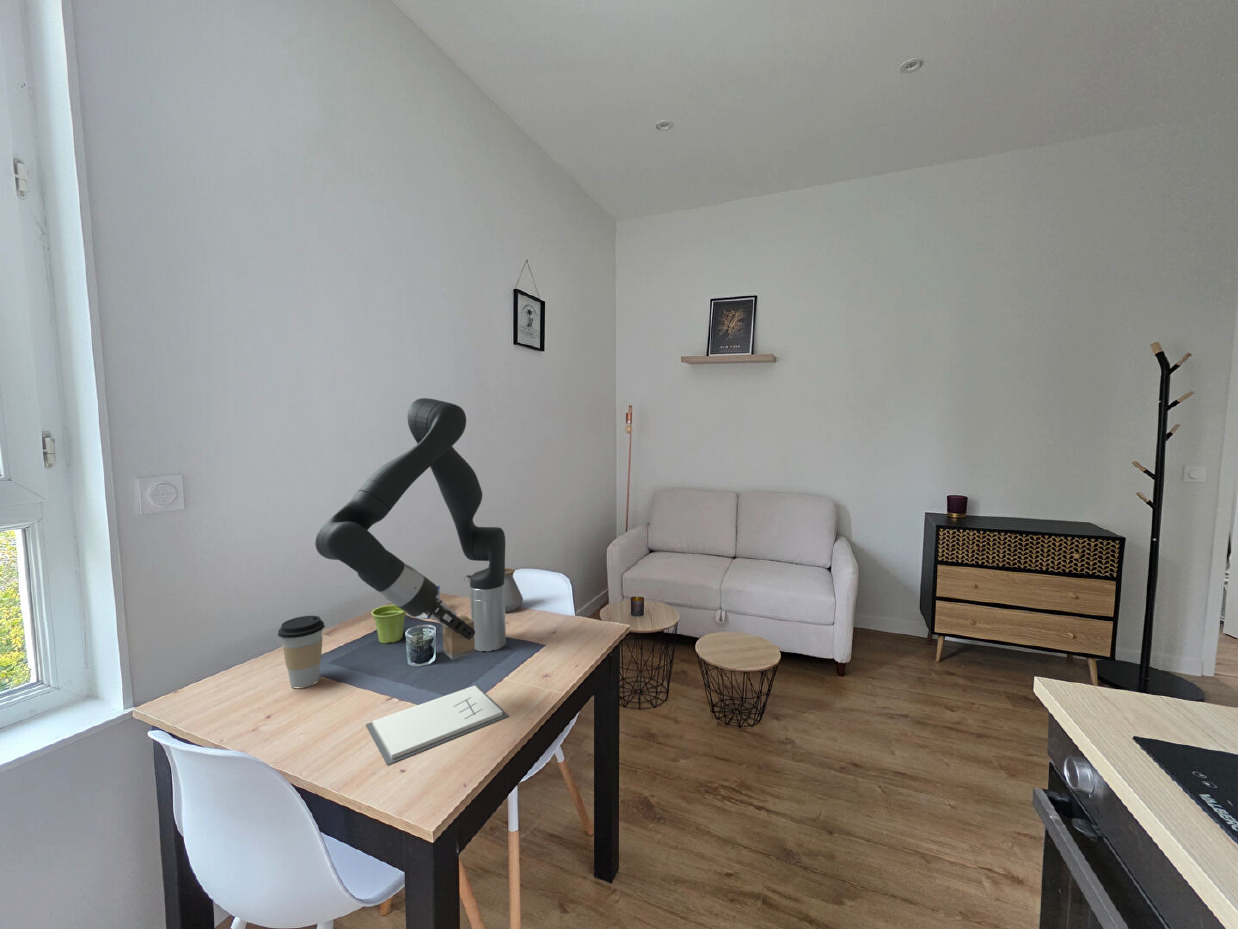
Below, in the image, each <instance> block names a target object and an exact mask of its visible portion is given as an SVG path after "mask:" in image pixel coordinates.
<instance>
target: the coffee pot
mask: <svg viewBox="0 0 1238 929" xmlns="http://www.w3.org/2000/svg"><path fill="white" fill-rule="evenodd" d="M515 572H516V571H515V569H513V568H505V575H504V587H505V613H510V612H514V611H516V610H517V609H518V608H519V607H521V605H522V604H523V602H524V597H523V595H522V593H521V591H520V588H519V587H518V585H517V583H516V581H515V578H514V573H515ZM470 577H471V574H469V575H466V576H464V578H463V581H464V583H467V582H470ZM466 578H468V579H467V580H466Z"/></svg>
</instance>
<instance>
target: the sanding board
mask: <svg viewBox="0 0 1238 929" xmlns="http://www.w3.org/2000/svg"><path fill="white" fill-rule="evenodd" d="M509 716H510V715H509V714H508V713H507V712H506V711H505V710H504V709H503V708H501V706H500V705H498V703H496V702H495V701H494V700H493V699H492V698H491V697H490V696H489V695H487V693H486V692H485V691H484V690H483V689H481V688H480V687H479V685H472V686H470V687H466V688H463V689H461V690H458V691H454V692H452V693H450V694H447V695H444V696H440V697H437V698H435V699H433V700H432V699H431V700H429V701H426V702H423V703H421V704H418V705H415V706H412V707H409V708H405V709H403V710H400V711H397V712H393V713H391V714H389V715H385V716H382V717H379V718H376V719H374V720H372V721H371V722H369V723H365V727H366V729H367V731H368V732H369V734H370V736H371V738H372V740H373V742H374V743H375V745H376V747H377V748H378V749H377V750H379V753H380V754H381V756H382V758H383V760H384V761H385V764H386V765H387V766H389V765H392V764H395V763H398V762H399V761H402V760H405V759H407V758H410V757H412V756H416V755H417V754H420V753H421V752H424V751H427V750H429V749H433V748H434V747H437V746H440V745H442V744H445V743H447V742H449V741H452V740H455V739H456V738H459V737H461V736H463V735H466V734H469V733H471V732H474V731H476V730H479V729H482V728H484V727H486V726H488V725H489V726H490V725H492V724H494V723H496V722H499V721H501V720H503V719H502V718H504V719H506V718H508V717H509ZM498 720H499V721H498Z"/></svg>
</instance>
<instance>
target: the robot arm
mask: <svg viewBox="0 0 1238 929" xmlns="http://www.w3.org/2000/svg"><path fill="white" fill-rule="evenodd" d="M407 426H408V428H409V431H410V433H411V435H412V437H413V439H414V440H415V442H416V445H415V446H413V447H412V448H410V449H409V450H407V451H406V452H404V453H403V454H401V455H399V456H397V457H395V458H394V459H391V460H390V461H388V462H387V463H385V464H383V465H381V466H380V467H379V468H377V470H375V471H374V472H373V473H372V474H371V475H370V476H369V478H367V479H366V481H364V483H363V484H362V485H361V487H360V488H359V489H358V491H356V492H355V493H354V495H353V497H352V498H351V499H350V500H349V501H348V502H347V503H346V504H345V505H343V506H342V507H341V508H340V509H339V510H338V511H337V512H335V514H334V515H332V517H330V518H329V519H328V520H327V521H326V522H325V523H324V525H323V526H322V527H321V528H320V529H319V531H318V532H317V535H316V538H315V549H316V551H317V553H318V554H319V555H320V556H322V557H323V558H325V559H328V560H334V561H335V560H336V561H340V562H341V563H343V564H345V565H346V566H348V567H349V568H351V570H353V571H355V572H356V574H357V576H358V577H359V578H360V579H361V581H362V582H364V583H365V584H367V585H368V586H370V587H371V588H372V589H374V590H375V591H377V592H378V593H379V594H380V595H381V596H383V597H384V598H385V599H386V600H387V601H389V602H390V603H391V604H392V605H396V606H397V607H399V608H400V609H402V610H403V611H405V612H406V615H407V614H408V615H409V616H411V617H413V618H416V617H417V616H420V615H422V614H423V613H425V614H426V615H427V616H428V617H429V619H431V620H432V621H434V622H435V621H436V622H437V623H439V624H440V625H441V626H442V627H443V626H444V627H450V628H451V629H452V630H453V631H454V632H455V633H460V634H461V635H462V636H464V637H465V638H467V639H468V640H470V639H471V638H472V637H473V635H474V639H475V651H476V650H477V652H482V651H486V652H493V651H492V650H494V651H497V650H500V649H502V648H503V647H504V646H506V644H507V637H506V634H507V632H506V612H505V587H504V575H505V569H506V534H505V532H504V530H503V529H502V528H501V527H499V526H498V527H497V526H495V527H494V526H477V525H476V524H475V522H474V520H473V519H474V517H475V515H476V514H477V511H478V509H479V508H480V506H481V504H482V500H483V491H482V488H481V484H480V482H479V479H478V476H477V474H476V471H474V469H473V468H472V466H471V465H470V464H469V462H467V461H466V460H465V458H463V457H462V455H460V454H459V453H458V451H457V450H456V449H455V448H454V447H453V446H454V445H455V444H456V443H457V442H458V441H459V440H460V439H461V437H462V436H463V434H464V432H465V430H466V426H467V416H466V412H465V411H464V409H463V408H462V407H461V406H460V405H457V404H455V403H451V402H448V401H443V400H438V399H433V398H428V397H424V398H417V399H416V400H414V401H413V402H412V403H411V404H410V406H409V409H408V412H407ZM429 468H430V470H431V472H432V474H433V476H434V478H435V481H436V482H437V486H438V488H439V491H440V494H441V496H442V498H443V501H444V503H445V504H446V507H447V508H448V511H449V513H450V516H451V519H452V521H453V523H454V527H455V529H456V533H457V537H458V540H459V543H460V546H461V549H462V552H463V554H464V556H465V558H466V559H468V560H470V561H478V562H482V561H483V562H489V563H488V567H487V568H485V569H483V570H478V571H476V572H474V573H473V574H470V576H471V577H470V578H469V589H470V590H469V591H470V619H471V620H472V621H474V630H473V629H472V628H471V627H469V626H468V625H467V624H466V623H465V621H463V620H461V619H459V618H458V617H459V616H457V615H458V614H457V612H455V611H454V610H453V609H451V608H450V607H449V606H448V605H447V603H446V602H444V601H442V600H441V598H440V599H438V598H437V595H438V587H437V585H438V584H435V583H434V582H432V581H431V580H430V579H429V578H427V577H426V576H425V575H424V574H422V573H421V572H419V571H418V570H417V569H416V568H414V567H412V566H411V565H409V564H407V563H405V562H404V561H403V560H401V559H400V558H399V557H397V556H396V555H395V554H393V553H392V552H390V551H389V550H387V549H386V547H384V545H383V544H382V543H381V542H380V541H379V540H378V539H377V537H376V536H374V535H373V534H372V533H371V532H370V531H369V530H370V528H371V527H373V525H375V524H377V523H378V522H379V523H380V522H381V521H382V520H384V518H386V517H387V515H388V514H389V513H390V512H391V510H392V509H393V508H394V507H395V506H396V504H397V503H398V502H399V500H400V499H401V498H402V496H403V495H404V494H405V492H406V491H408V489H409V488H410V487H411V485H413V483H414V482H415V481H416V480H418V478H419V477H421V475H423V474H424V473H425V472H426V471H427V470H428V469H429ZM457 622H458V623H457ZM456 623H457V624H456ZM455 624H456V625H455Z"/></svg>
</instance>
